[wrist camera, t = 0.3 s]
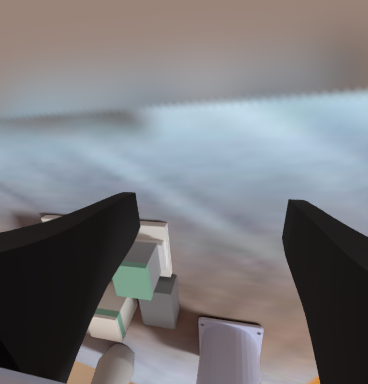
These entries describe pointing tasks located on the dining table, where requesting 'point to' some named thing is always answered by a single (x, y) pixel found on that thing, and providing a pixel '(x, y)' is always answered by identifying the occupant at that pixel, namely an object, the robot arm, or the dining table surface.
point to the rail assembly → (142, 261)
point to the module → (112, 315)
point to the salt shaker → (115, 366)
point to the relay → (162, 304)
